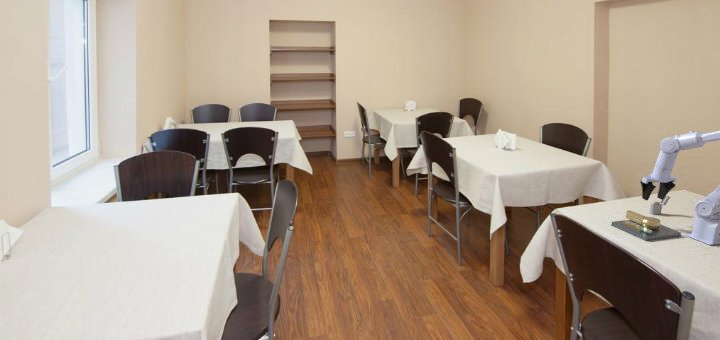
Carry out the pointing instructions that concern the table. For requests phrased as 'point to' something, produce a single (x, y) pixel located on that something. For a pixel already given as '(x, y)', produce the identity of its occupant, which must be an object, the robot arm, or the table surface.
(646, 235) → the base plate
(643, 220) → the gold elongated piece
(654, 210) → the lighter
